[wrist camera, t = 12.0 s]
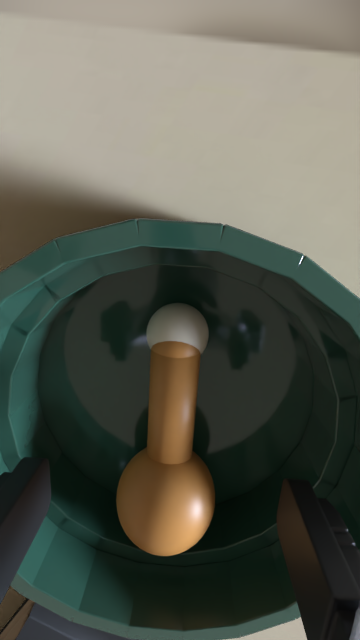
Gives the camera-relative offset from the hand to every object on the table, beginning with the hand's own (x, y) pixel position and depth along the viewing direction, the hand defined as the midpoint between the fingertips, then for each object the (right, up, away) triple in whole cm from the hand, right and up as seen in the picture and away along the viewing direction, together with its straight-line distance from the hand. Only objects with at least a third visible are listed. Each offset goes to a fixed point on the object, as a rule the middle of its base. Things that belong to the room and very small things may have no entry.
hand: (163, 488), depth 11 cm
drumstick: (0, +1, +6) cm, 6 cm away
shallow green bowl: (0, +2, +6) cm, 7 cm away
